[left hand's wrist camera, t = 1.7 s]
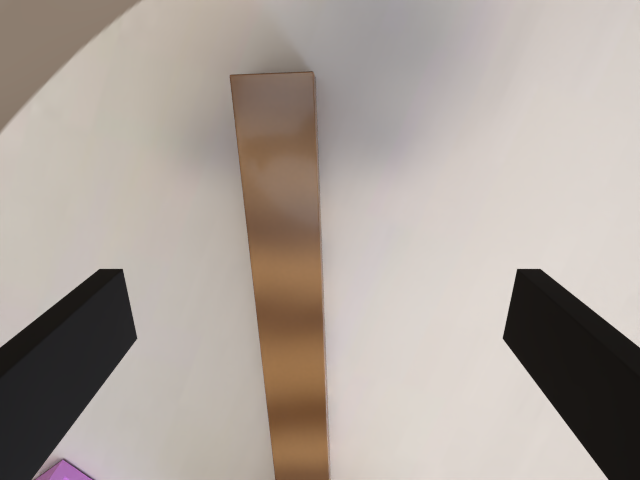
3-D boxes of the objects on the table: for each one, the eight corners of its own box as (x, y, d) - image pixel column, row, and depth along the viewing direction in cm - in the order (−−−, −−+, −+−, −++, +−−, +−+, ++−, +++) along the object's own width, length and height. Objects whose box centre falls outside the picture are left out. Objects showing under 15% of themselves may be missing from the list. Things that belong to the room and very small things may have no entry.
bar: (250, 79, 32) (229, 74, 24) (315, 76, 32) (313, 71, 24) (293, 525, 52) (288, 595, 45) (332, 524, 52) (334, 595, 45)
